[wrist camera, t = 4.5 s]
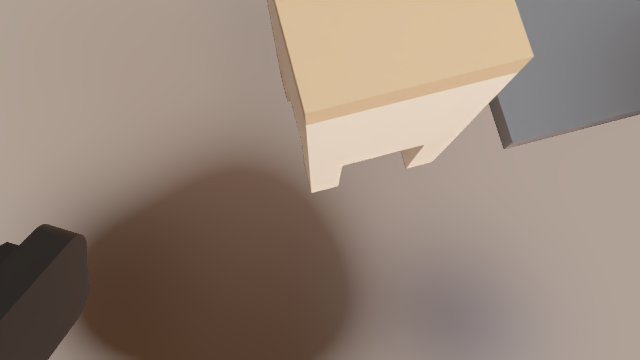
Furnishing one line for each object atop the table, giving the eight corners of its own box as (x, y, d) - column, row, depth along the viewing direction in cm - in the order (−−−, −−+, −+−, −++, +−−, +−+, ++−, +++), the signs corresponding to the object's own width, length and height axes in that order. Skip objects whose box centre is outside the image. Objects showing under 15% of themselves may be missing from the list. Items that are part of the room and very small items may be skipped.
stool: (281, 76, 26) (249, -97, 14) (397, 48, 26) (464, -147, 14) (311, 192, 25) (305, 113, 13) (431, 161, 25) (533, 56, 13)
